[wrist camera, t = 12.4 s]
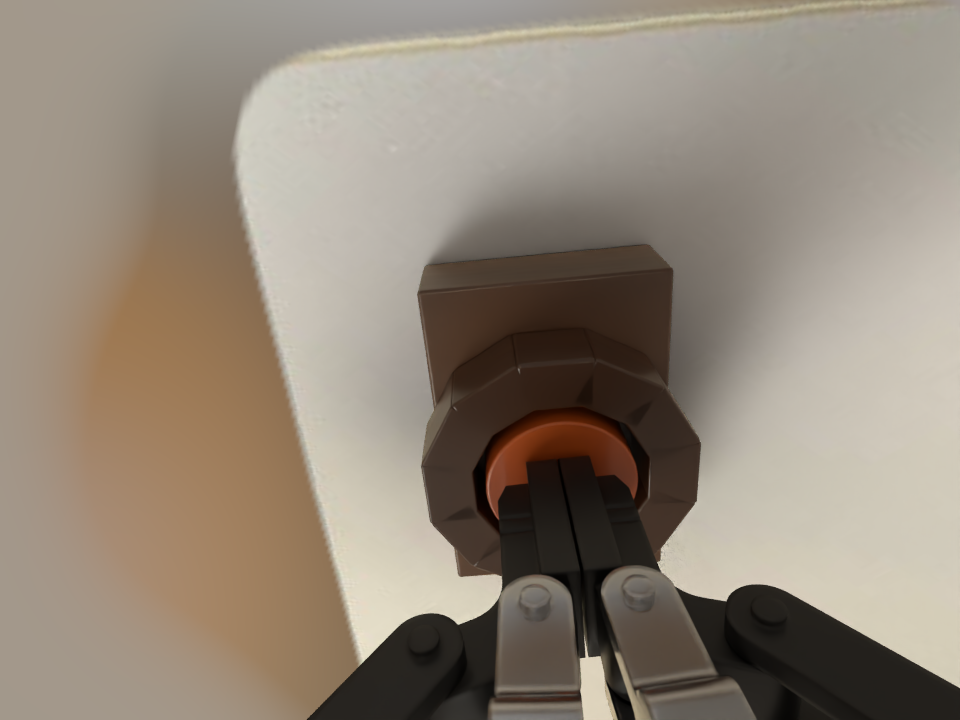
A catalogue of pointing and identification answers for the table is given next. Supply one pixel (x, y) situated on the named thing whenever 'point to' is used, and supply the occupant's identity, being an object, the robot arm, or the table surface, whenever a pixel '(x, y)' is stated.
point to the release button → (557, 447)
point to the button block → (550, 378)
